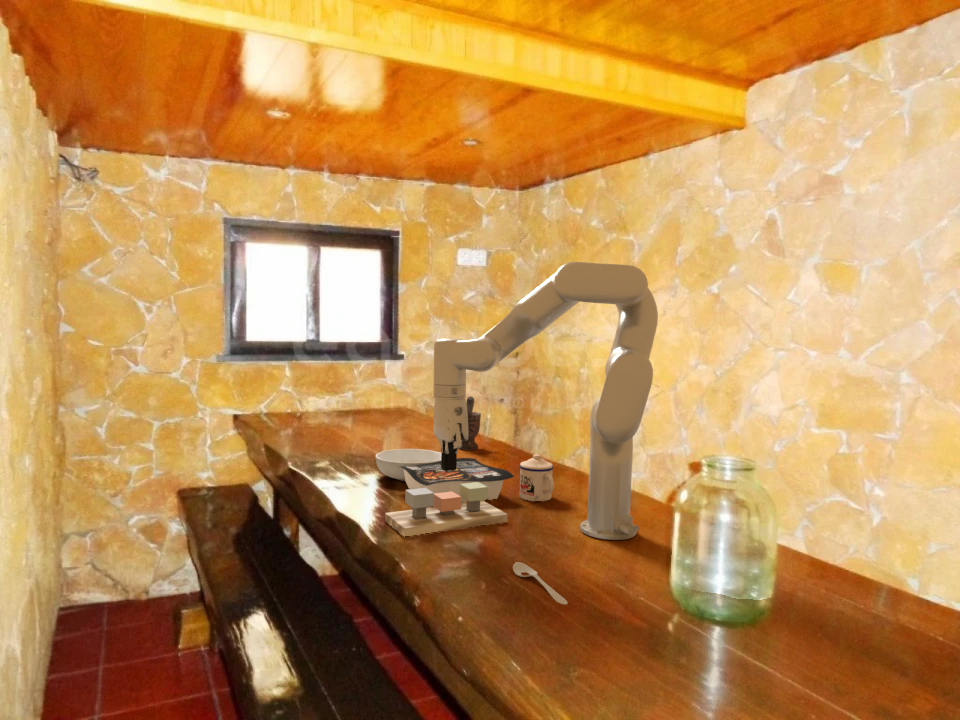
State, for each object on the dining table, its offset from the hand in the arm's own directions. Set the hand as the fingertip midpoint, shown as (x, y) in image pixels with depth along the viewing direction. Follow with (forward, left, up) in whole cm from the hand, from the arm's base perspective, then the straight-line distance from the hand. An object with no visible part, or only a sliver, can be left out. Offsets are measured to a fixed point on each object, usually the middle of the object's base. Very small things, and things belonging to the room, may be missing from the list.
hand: (448, 469), depth 153 cm
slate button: (0, +7, -10) cm, 13 cm away
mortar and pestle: (+72, -43, -13) cm, 85 cm away
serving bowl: (+42, -8, -13) cm, 45 cm away
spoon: (-41, 0, -13) cm, 43 cm away
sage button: (0, -7, -10) cm, 12 cm away
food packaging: (+21, -11, -13) cm, 27 cm away
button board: (0, 0, -13) cm, 13 cm away
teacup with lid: (+8, -31, -13) cm, 34 cm away
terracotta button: (0, 0, -12) cm, 12 cm away
